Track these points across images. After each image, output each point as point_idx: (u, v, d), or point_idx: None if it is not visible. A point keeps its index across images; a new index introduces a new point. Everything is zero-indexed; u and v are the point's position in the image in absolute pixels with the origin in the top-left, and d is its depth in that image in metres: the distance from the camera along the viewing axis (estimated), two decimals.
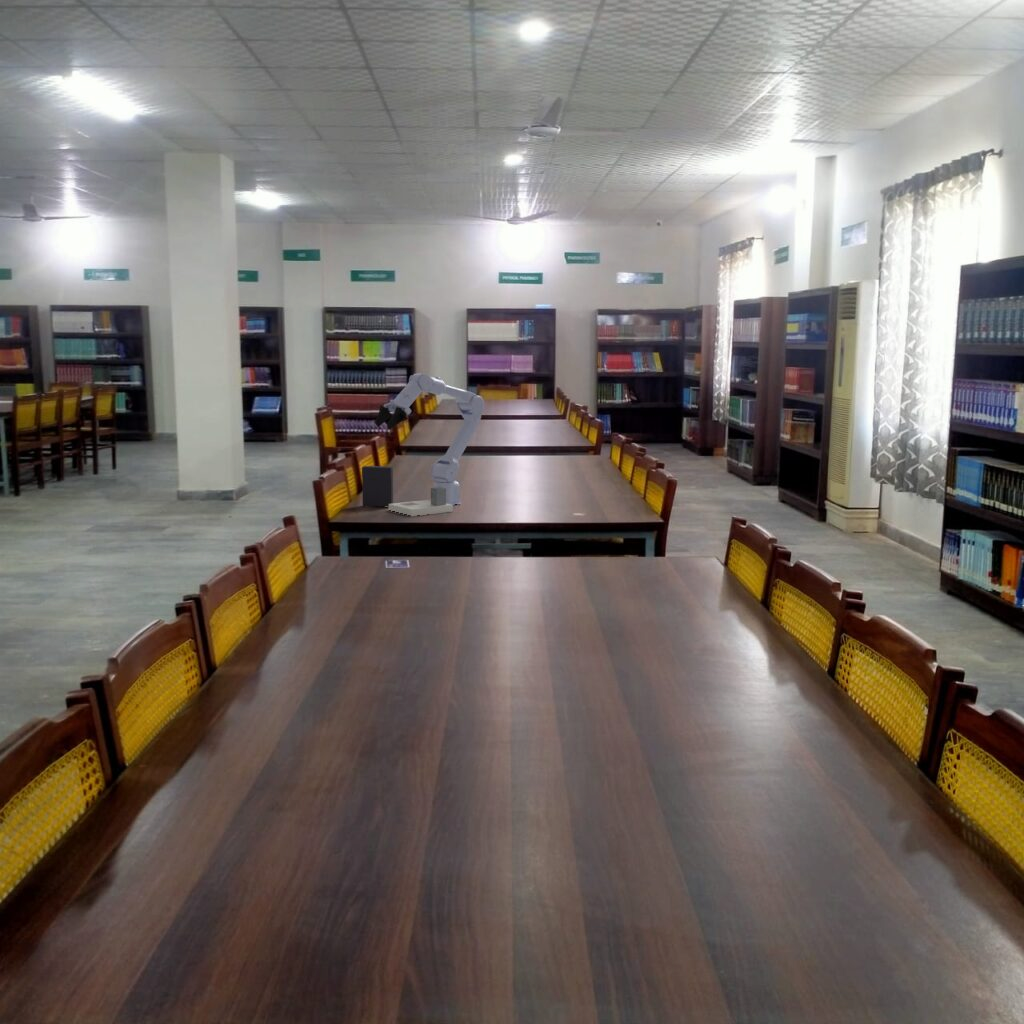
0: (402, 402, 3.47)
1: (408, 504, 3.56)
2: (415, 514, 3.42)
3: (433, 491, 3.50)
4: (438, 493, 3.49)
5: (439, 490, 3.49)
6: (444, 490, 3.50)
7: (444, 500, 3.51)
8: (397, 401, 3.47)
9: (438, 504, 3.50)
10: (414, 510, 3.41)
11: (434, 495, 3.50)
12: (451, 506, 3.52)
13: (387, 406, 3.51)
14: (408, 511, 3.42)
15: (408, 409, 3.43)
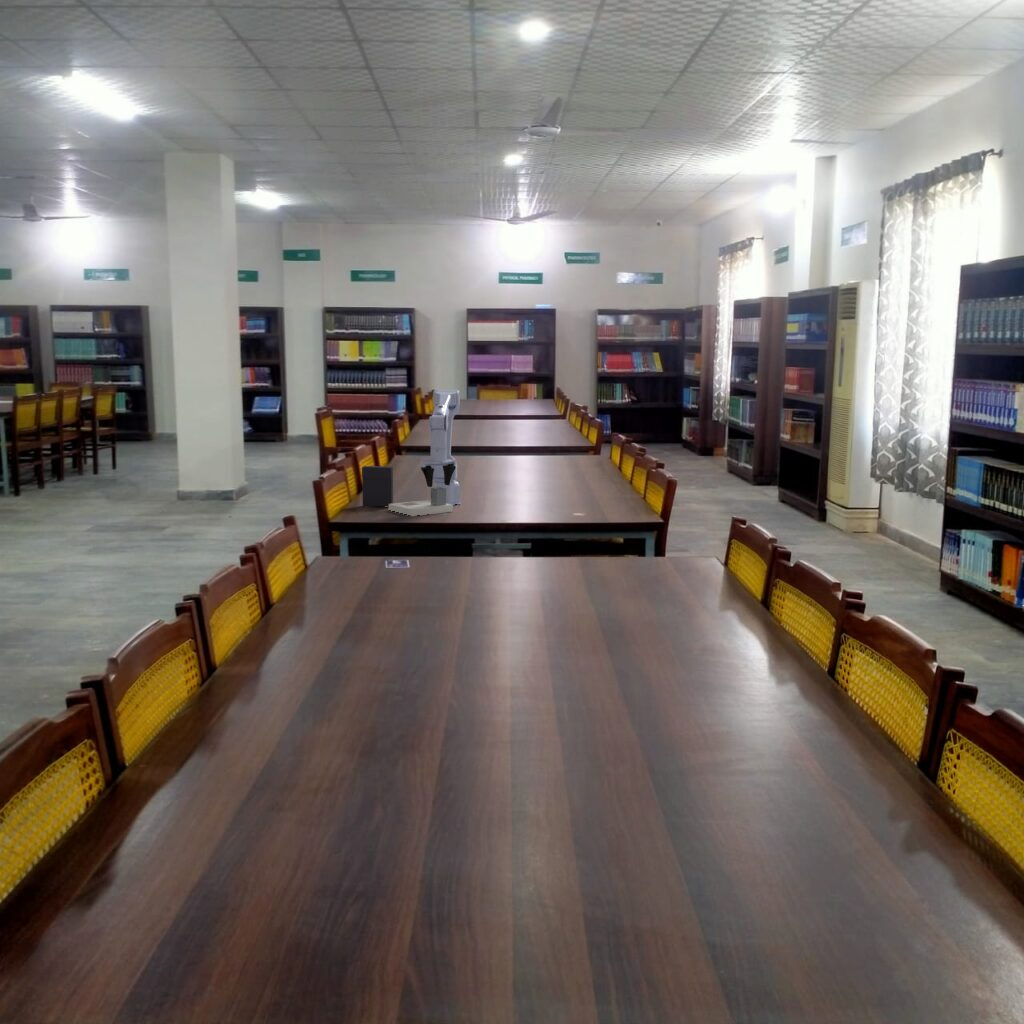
0: None
1: (408, 504, 3.56)
2: (415, 514, 3.42)
3: (433, 491, 3.50)
4: (438, 493, 3.49)
5: (439, 490, 3.49)
6: (444, 490, 3.50)
7: (444, 500, 3.51)
8: (445, 459, 3.48)
9: (438, 504, 3.50)
10: (414, 510, 3.41)
11: (434, 495, 3.50)
12: (451, 506, 3.52)
13: (428, 463, 3.46)
14: (408, 511, 3.42)
15: None
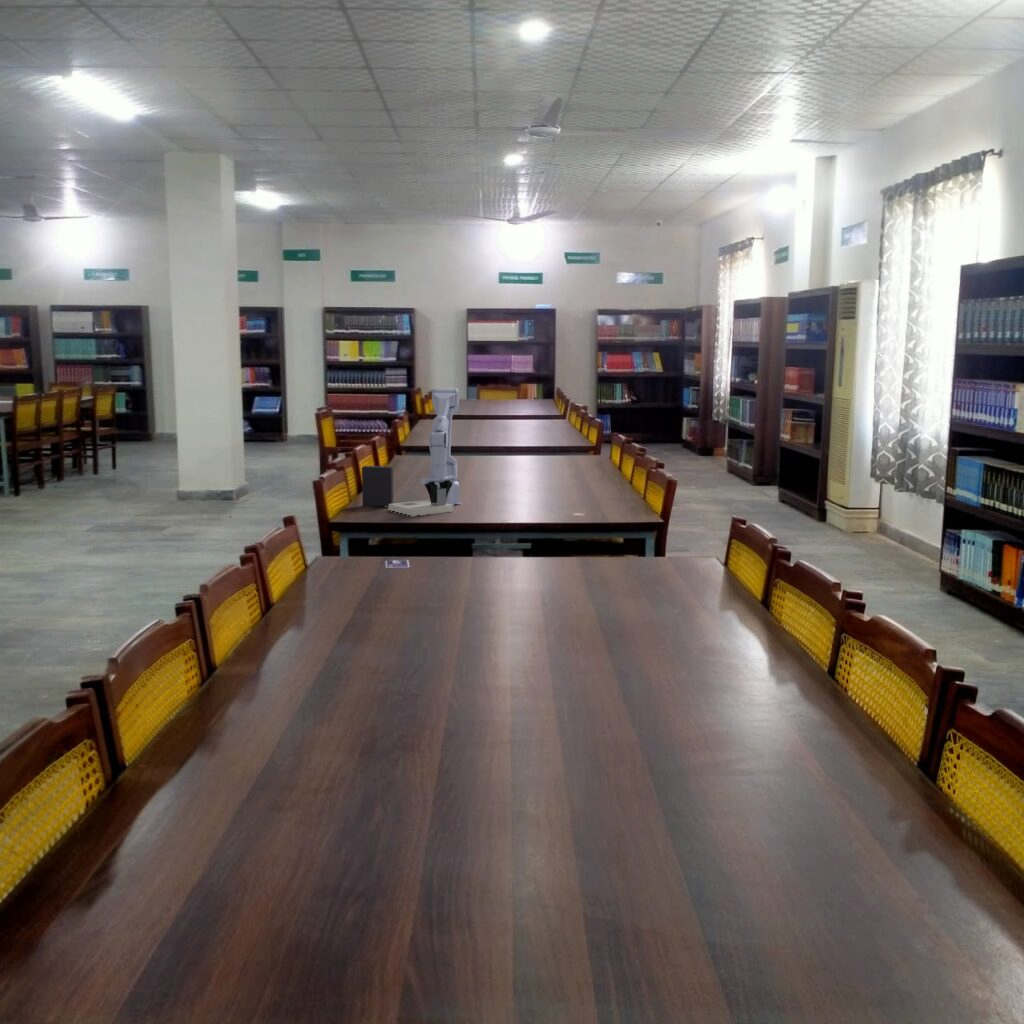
0: None
1: (408, 504, 3.56)
2: (415, 514, 3.42)
3: None
4: (438, 493, 3.49)
5: (439, 490, 3.49)
6: (444, 490, 3.50)
7: (444, 500, 3.51)
8: (445, 475, 3.49)
9: (438, 504, 3.50)
10: (414, 510, 3.41)
11: None
12: (451, 506, 3.52)
13: (428, 480, 3.47)
14: (408, 511, 3.42)
15: None
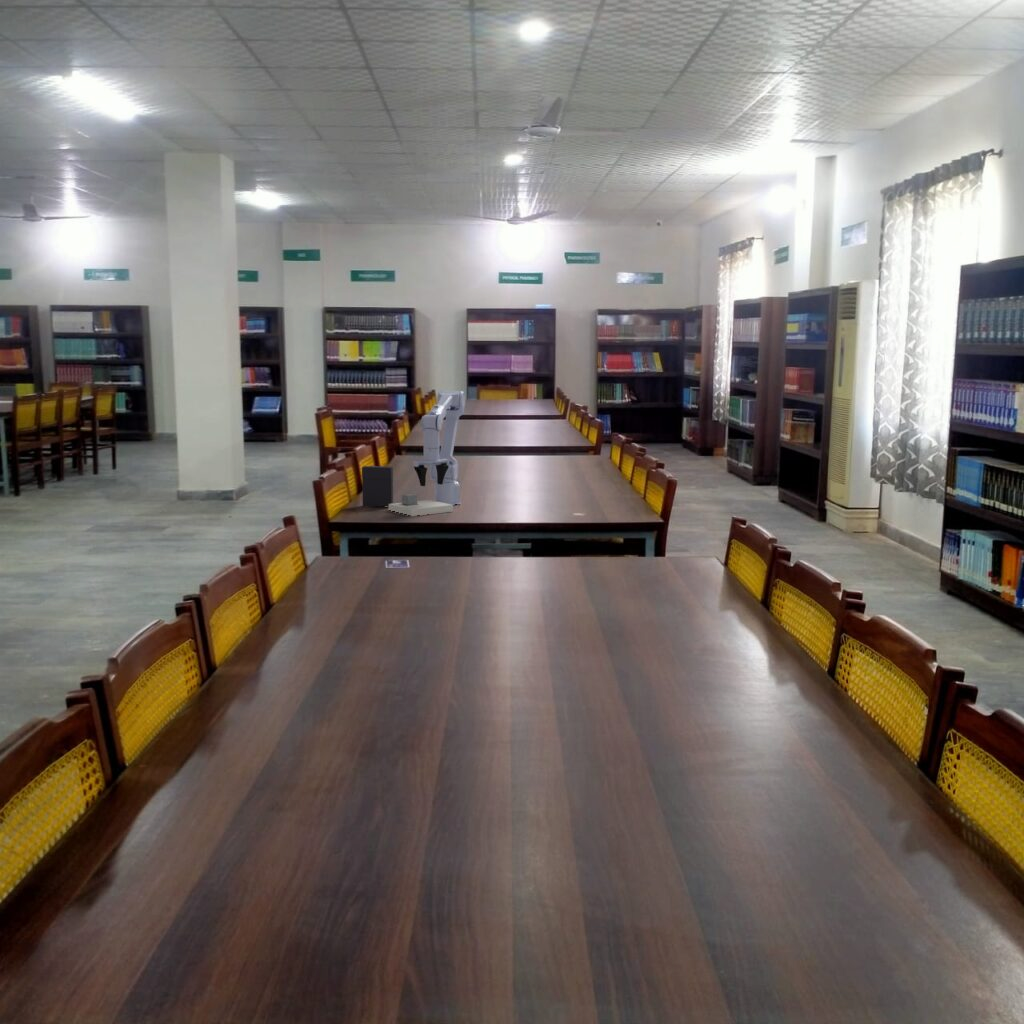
0: None
1: None
2: (415, 514, 3.42)
3: (404, 498, 3.51)
4: (409, 500, 3.50)
5: (410, 497, 3.49)
6: (415, 497, 3.51)
7: None
8: (438, 458, 3.50)
9: None
10: (414, 510, 3.41)
11: (405, 502, 3.50)
12: (451, 506, 3.52)
13: (421, 463, 3.48)
14: (408, 511, 3.42)
15: None
